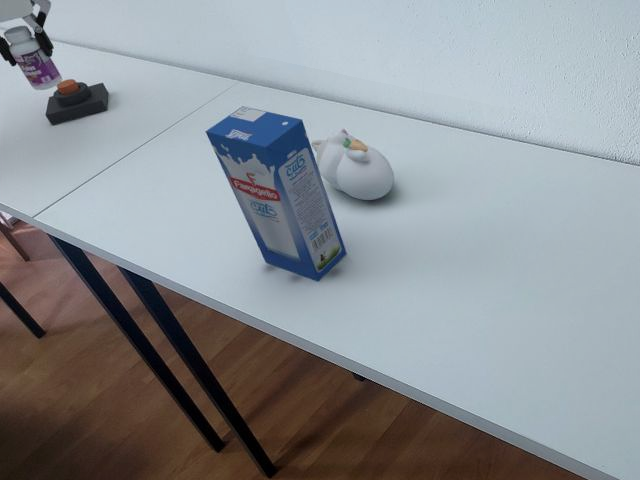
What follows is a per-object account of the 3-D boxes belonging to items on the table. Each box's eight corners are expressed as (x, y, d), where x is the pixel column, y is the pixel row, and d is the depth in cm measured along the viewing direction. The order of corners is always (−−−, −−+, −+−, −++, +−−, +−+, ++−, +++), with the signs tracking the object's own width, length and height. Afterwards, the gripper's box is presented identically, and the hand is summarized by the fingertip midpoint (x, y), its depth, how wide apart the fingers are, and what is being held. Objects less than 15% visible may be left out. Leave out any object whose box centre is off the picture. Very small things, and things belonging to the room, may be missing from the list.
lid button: (61, 97, 127) (55, 89, 126) (62, 90, 130) (57, 82, 128) (79, 92, 128) (74, 84, 127) (80, 85, 130) (75, 77, 129)
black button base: (51, 125, 128) (39, 106, 125) (55, 106, 134) (43, 88, 131) (107, 110, 129) (96, 91, 126) (108, 92, 135) (98, 73, 132)
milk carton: (265, 262, 89) (204, 131, 74) (294, 236, 92) (242, 105, 78) (318, 281, 85) (265, 146, 70) (347, 254, 88) (302, 119, 73)
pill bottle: (29, 93, 115) (-6, 39, 108) (38, 80, 119) (4, 27, 112) (59, 87, 115) (25, 32, 108) (67, 75, 119) (34, 21, 112)
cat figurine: (387, 143, 88) (312, 108, 94) (357, 193, 88) (285, 155, 94) (416, 175, 97) (346, 141, 103) (389, 220, 97) (320, 183, 103)
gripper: (20, -75, 104) (82, 38, 117) (-92, -50, 102) (-15, 64, 115) (14, -64, 99) (80, 53, 113) (-103, -37, 97) (-21, 80, 110)
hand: (32, 57), depth 114 cm, fingers closed on pill bottle, 5 cm apart
